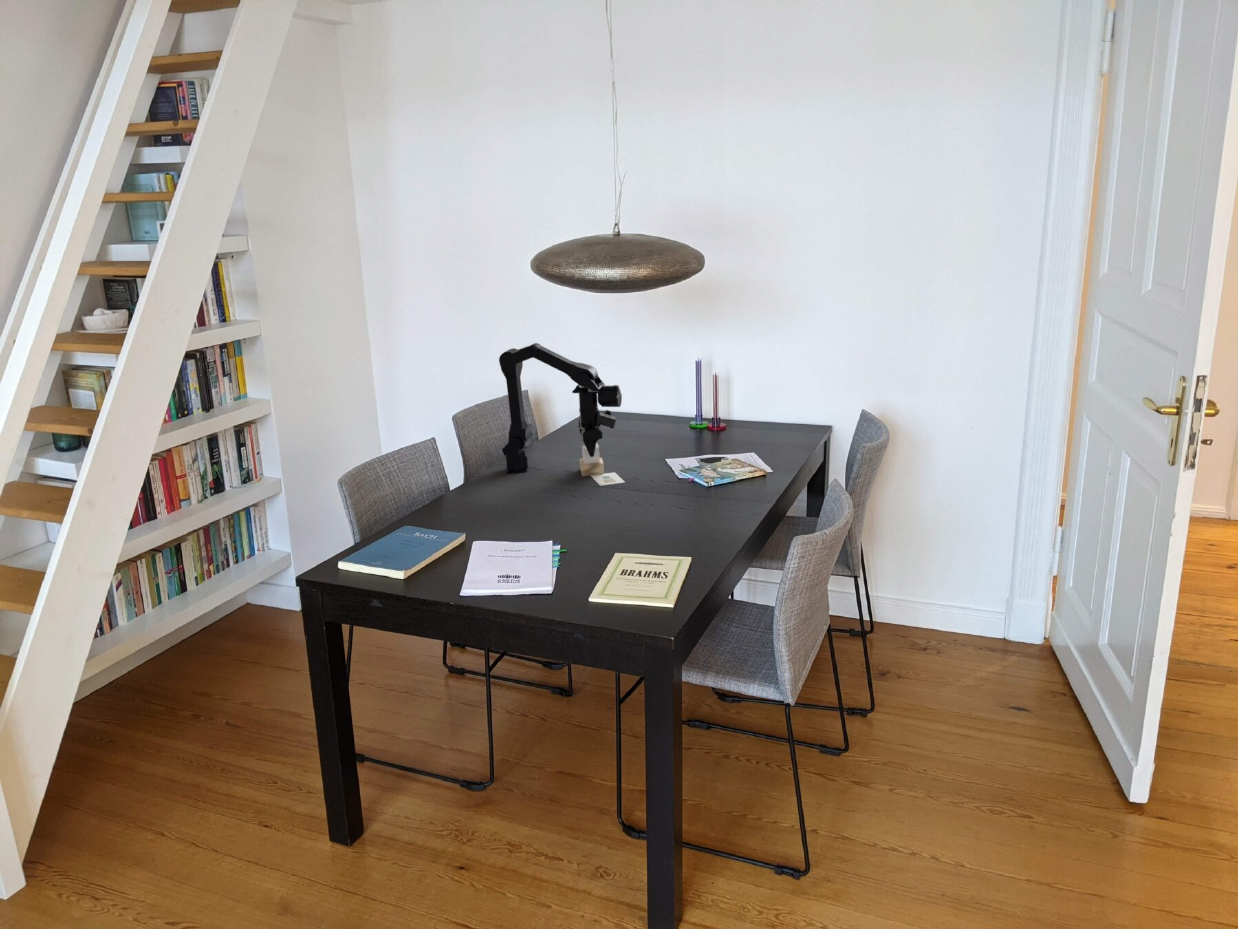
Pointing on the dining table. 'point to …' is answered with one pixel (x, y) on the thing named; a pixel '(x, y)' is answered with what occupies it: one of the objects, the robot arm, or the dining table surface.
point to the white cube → (586, 456)
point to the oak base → (591, 468)
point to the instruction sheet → (607, 479)
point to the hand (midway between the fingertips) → (591, 454)
